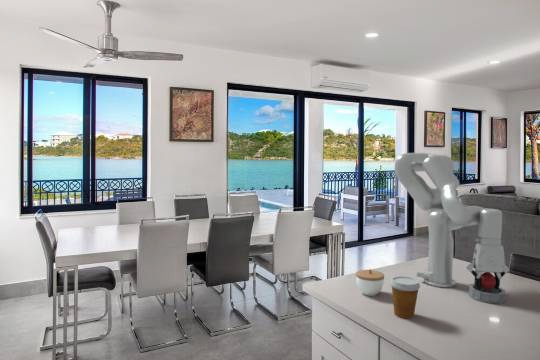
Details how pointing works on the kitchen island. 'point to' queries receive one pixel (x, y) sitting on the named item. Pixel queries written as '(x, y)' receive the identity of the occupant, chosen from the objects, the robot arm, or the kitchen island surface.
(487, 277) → the onion
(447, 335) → the kitchen island surface
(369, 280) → the lidded jar
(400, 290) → the disposable coffee cup
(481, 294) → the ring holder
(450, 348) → the kitchen island surface
